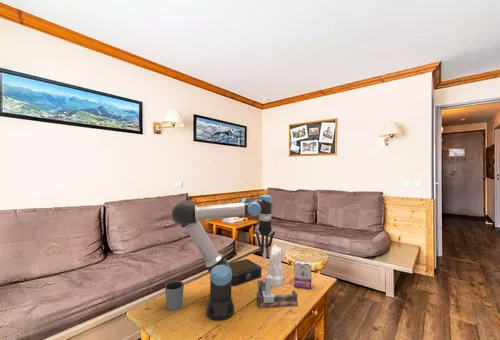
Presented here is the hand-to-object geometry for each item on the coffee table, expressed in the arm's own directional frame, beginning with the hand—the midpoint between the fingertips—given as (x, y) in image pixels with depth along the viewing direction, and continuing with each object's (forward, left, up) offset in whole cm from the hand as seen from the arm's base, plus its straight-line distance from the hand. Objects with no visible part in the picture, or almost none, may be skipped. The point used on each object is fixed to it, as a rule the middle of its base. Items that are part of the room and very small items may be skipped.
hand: (264, 257), depth 145 cm
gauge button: (0, 0, -17) cm, 17 cm away
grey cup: (-53, -6, -24) cm, 58 cm away
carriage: (+1, -9, -21) cm, 23 cm away
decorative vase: (+11, +16, -24) cm, 31 cm away
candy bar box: (+28, +8, -24) cm, 38 cm away
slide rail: (+6, -9, -23) cm, 26 cm away
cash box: (-12, +27, -24) cm, 38 cm away
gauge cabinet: (0, 0, -23) cm, 23 cm away
